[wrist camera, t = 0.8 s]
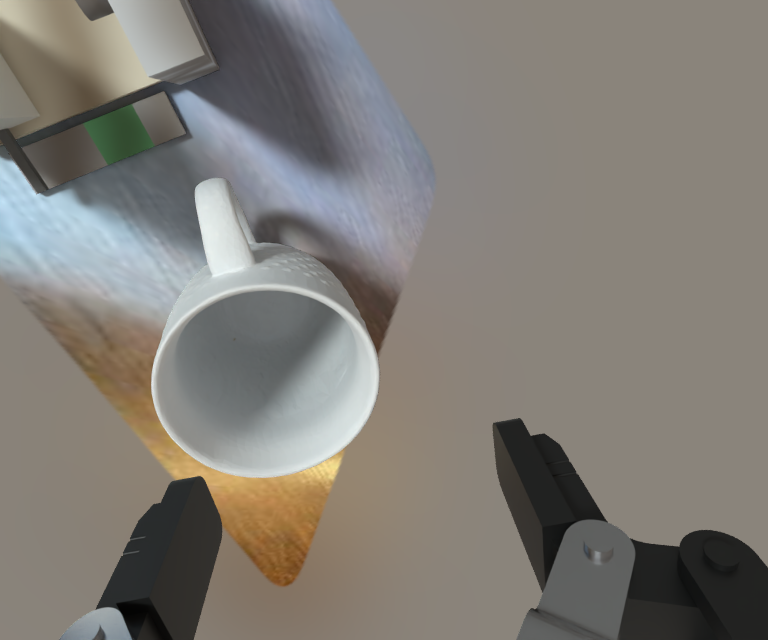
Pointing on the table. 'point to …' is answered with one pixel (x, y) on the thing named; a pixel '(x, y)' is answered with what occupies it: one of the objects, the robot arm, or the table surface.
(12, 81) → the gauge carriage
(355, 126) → the table surface
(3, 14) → the gauge base
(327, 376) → the mug
